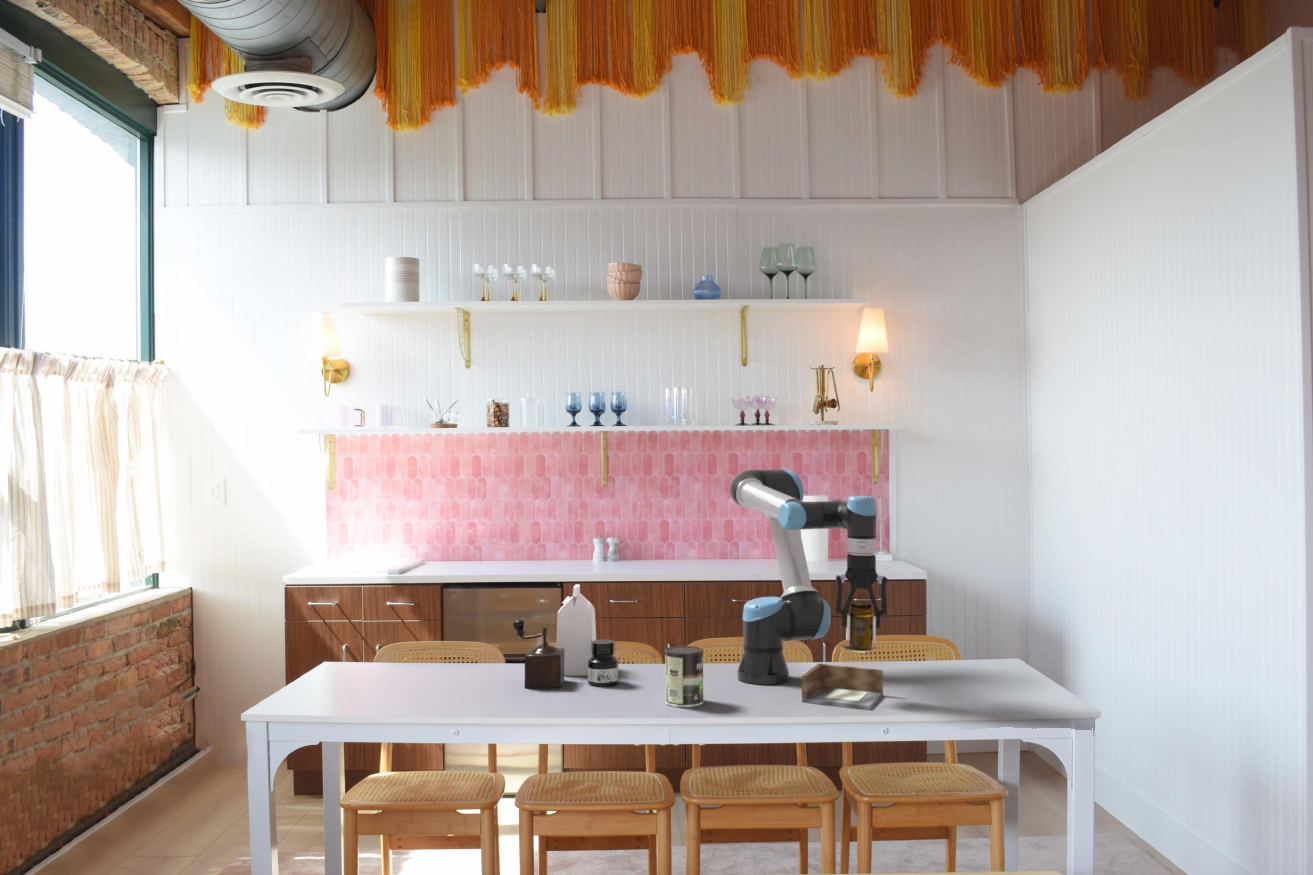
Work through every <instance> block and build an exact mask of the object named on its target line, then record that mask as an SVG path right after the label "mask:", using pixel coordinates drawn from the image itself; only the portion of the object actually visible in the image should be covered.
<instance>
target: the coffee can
mask: <svg viewBox="0 0 1313 875" xmlns="http://www.w3.org/2000/svg"><path fill="white" fill-rule="evenodd" d="M664 653H665V657H664V658H665V664H664V665H665V667H664V668H665V702H664V703H665V704H666V705H667V706H669V707H674V708H683V709H684V708H685V709H686V708H687V709H688V708H696V707H701V706H703V704H704V703H705V702H704V649H703V648H702V647H699V646H698V647H697V646H692V645H691V646H690V645H678V646H677V645H675V646H669V647H667V648H665V649H664Z"/></svg>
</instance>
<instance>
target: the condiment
mask: <svg viewBox="0 0 1313 875" xmlns="http://www.w3.org/2000/svg"><path fill="white" fill-rule="evenodd" d="M850 607H851V608H850V613H849V615H850V641H849V640H848V644H847V645H843V646H841V647H839V649H840V650H844V651H848V652H855V653H856V652H857V653H862V654H865V653H867V652H869V651H873V650H876V649H878V648H879V647H878V646H873V641H872V615H873V614H872V603H871V604H870V603H869V602H863V601H861V602H859V601H857V602H855V601H854V602H851V605H850Z"/></svg>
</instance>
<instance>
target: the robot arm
mask: <svg viewBox="0 0 1313 875" xmlns="http://www.w3.org/2000/svg"><path fill="white" fill-rule="evenodd" d="M729 489H730V496H731V499H732V500H733V501H734V503H735V504H736V505H738V506H740V507H742V508H744V509H754V510H756V511H759V512H761V513H762V514H763V516H765V517H766V518H768V520H769V524H770V529H771V535H772V540H773V544H774V550H775V553H776V560H777V563H778V569H779V570H778V571H779V573H780V574H779V575H780V579H781V583H782V588H783V592H782V595H780V597H778V596H762V597H757V598H753V599H750V600H747V601H746V603H745V604H744V605H743V611H742V622H743V623H742V626H743V627H742V631H743V632H742V635H743V637H742V638H743V640H742V641H743V642H742V645H743V648H742V649H743V653H742V655H741V658H740V662H739V665H738V668H737V680H738V681H741V682H743V683H747V684H752V685H778V684H783V683H786V682H788V681H789V680H790V670H789V666H788V665H787V664H788V663H787V661H786V657H785V655H784V642H795V641H803V640H804V641H805V640H808V641H812V640H815V639H821V638H823V637H824V636H825V635H826V634H827V633H828V631H829V628H830V625H831V620H832V616H831V615H832V614H831V612H832V611H831V608H830V605H829V603H828V602H827V600H826V599H824V598H820V595H819V591H818V590H817V589H815V587H813V586H812V582H811V578H810V573H809V571H810V570H809V567H808V563H807V559H806V553H805V549H804V544H803V541H802V540H803V539H802V535H801V530H823V529H824V530H825V529H826V530H827V529H845V530H847V531H846V532H847V534H846V535H847V537H846V538H847V540H846V541H847V542H846V543H847V544H846V547H847V548H846V550H847V553H848V554H847V555H846V556H847V557H846V571H845V573H844V574H841V575H839V574H837V575H836V576H835V580H836V596H835V597H836V598H835V608H834V610H835V613H837V614H840V615H841V618H842V619H841V624H842V627H843V628H846V629H845V632H846V633H845V639H846V641H848V642H849V641H850V613H849V610H850V609H851V608H850V607H851V604H852V603H853V602H852V601H853V598H854V596H855V593H856V591H857V589H858V590H859V589H864V590H867V593H868V597H869V599H870V600H869V601H870V602H871V607H872V609H873V613H874V614H872V642H877V641H876V640H877V629H880V627H881V616H883V615H884V616H885V615H887V614H888V606H887V605H888V604H887V589H886V587H887V586H886V585H887V583H888V578H887V576H885V575H880V574H878V573H877V569H876V567H877V565H876V564H877V561H876V560H877V556H876V555H875V554H876V552H877V550H876V549H877V548H876V547H877V543H876V542H877V541H876V540H877V538H876V537H877V513H878V512H877V504H876V498H875V497H874V496H870V495H851V496H849V497H848V498H847V501H844V500H840V499H833V500H832V499H830V500H828V501H827V500H826V501H803V500H804V496H805V495H804V492H805V491H804V490H805V489H804V484H803V482H802V480H801V477H800V476H799V475H798V474H797V473H796V472H795V471H793V470H791V469H781V468H778V469H746V470H744V471H742V472H740V473H739V474H737V475H736V476H735V477H734V478H733V479H732V481H731V484H730V488H729ZM846 579H847V581H848V582H849V585H850V586H849V589H848V593H847V596H846V598H845V601H844V605H843V607H842V598H843V584H844V583H845V581H846ZM876 580H877V583H878V584H879V593H880V594H879V595H880V609H879V606H878V603H877V600H876V596H875V593H874V590H873V586H872V585H874V584H875V583H874V582H876Z"/></svg>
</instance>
